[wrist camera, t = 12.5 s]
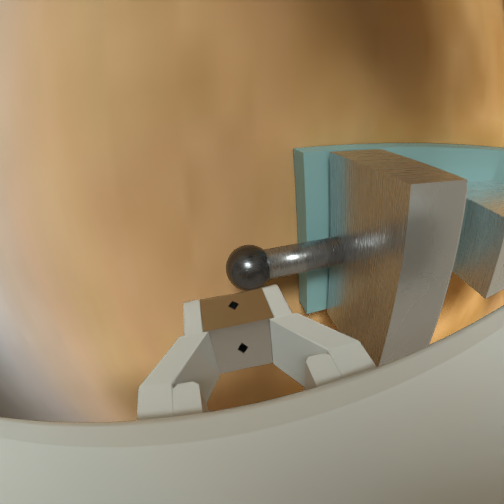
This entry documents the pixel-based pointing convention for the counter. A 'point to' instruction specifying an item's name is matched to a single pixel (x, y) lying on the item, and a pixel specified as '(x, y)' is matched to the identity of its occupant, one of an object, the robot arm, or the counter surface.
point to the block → (482, 238)
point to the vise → (318, 192)
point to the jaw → (376, 250)
